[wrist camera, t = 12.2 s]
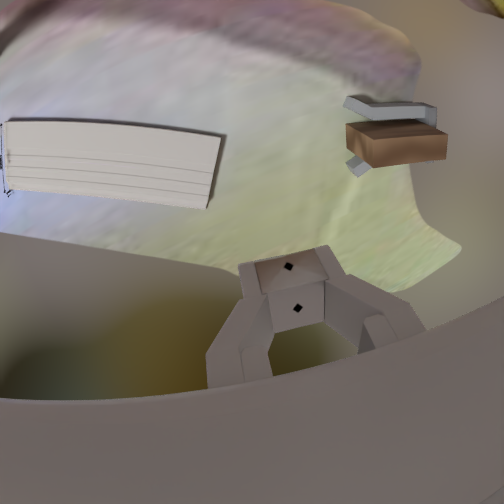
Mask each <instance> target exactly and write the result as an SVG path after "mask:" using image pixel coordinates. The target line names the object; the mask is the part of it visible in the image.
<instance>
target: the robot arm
mask: <svg viewBox="0 0 504 504" xmlns="http://www.w3.org/2000/svg"><path fill="white" fill-rule="evenodd" d="M238 270H239V275H240V281H241V286H242V292H243V297H244V299H241V300H239V301H238V303H237V304H236V306H235V308H234V309H233V311H232V313H231V314H230V316H229V317H228V319H227V321H226V322H225V324H224V325H223V327H222V329H221V330H220V332H219V334H218V335H217V337H216V338H215V340H214V342H213V343H212V345H211V347H210V348H209V350H208V351H207V353H206V364H207V379H208V389H205V390H199V391H192V392H184V393H177V394H168V395H160V396H149V397H138V398H125V399H109V400H83V401H82V400H80V401H45V400H19V399H5V398H0V504H504V296H503V297H501V298H499V299H497V300H495V301H493V302H491V303H489V304H487V305H484V306H482V307H480V308H478V309H476V310H474V311H472V312H469V313H467V314H465V315H462V316H460V317H458V318H456V319H453V320H451V321H449V322H446V323H444V324H441V325H439V326H436V327H434V328H431V329H429V330H426V328H425V327H424V325H423V324H422V322H421V321H420V319H419V318H418V316H417V314H416V313H415V311H414V310H413V308H412V307H411V305H410V304H409V303H408V302H406V301H404V300H402V299H399V298H398V297H396V296H394V295H392V294H390V293H388V292H386V291H384V290H382V289H380V288H378V287H376V286H374V285H372V284H370V283H367V282H365V281H363V280H361V279H359V278H357V277H355V276H353V275H351V274H349V275H346V274H345V272H344V270H343V269H342V267H341V265H340V264H339V262H338V260H337V259H336V257H335V255H334V254H333V252H332V250H331V249H330V247H329V246H328V245H323V246H319V247H315V248H312V249H309V250H304V251H300V252H295V253H291V254H286V255H281V256H276V257H271V258H265V259H260V260H255V261H254V262H253V261H251V262H246V263H241V264H238ZM323 321H324V322H325V323H326V324H327V325H329V326H330V327H331V328H333V329H334V330H335V331H336V332H338V333H339V334H341V335H342V336H343V337H345V338H346V339H347V340H348V341H350V342H351V343H352V344H354V345H355V346H356V347H358V353H357V355H355V356H351V357H349V358H345V359H341V360H338V361H334V362H331V363H327V364H324V365H320V366H316V367H312V368H308V369H304V370H301V371H296V372H293V373H288V374H284V375H279V376H275V377H273V375H272V371H271V367H270V363H269V359H268V354H267V352H268V350H269V347H270V344H271V342H272V340H273V337H274V333H278V332H281V331H286V330H289V329H293V328H297V327H301V326H306V325H310V324H315V323H319V322H323Z"/></svg>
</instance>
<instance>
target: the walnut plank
mask: <svg viewBox="0 0 504 504" xmlns="http://www.w3.org/2000/svg"><path fill="white" fill-rule="evenodd" d="M447 141H448V134H446V133H444V132H442V131H440V130H438V129H436V128H434V127H431V126H429V125H427V124H425V123H423V122H421V121H418V120H416V119H403V120H385V121H371V122H359V123H348V124H346V142H347V149H349V150H350V151H352V152H353V153H354V154H356V155H357V156H358V157H360V158H361V159H362V160H363V161H365V162H366V163H367V164H369V165H370V166H371V167H372V168H378V167H385V166H393V165H400V164H408V163H416V162H425V161H434V160H443V159H446V152H447Z"/></svg>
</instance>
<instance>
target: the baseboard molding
mask: <svg viewBox="0 0 504 504" xmlns="http://www.w3.org/2000/svg"><path fill="white" fill-rule="evenodd" d="M0 126H2V124H1V125H0ZM220 141H221V137H217V136H211V135H205V134H198V133H192V132H185V131H177V130H170V129H162V128H153V127H144V126H134V125H123V124H110V123H95V122H74V121H6V122H4V148H5V169H6V182H7V183H8V185H9V189H14V190H27V191H40V192H52V193H63V194H74V195H84V196H94V197H104V198H114V199H123V200H132V201H141V202H149V203H158V204H166V205H174V206H182V207H190V208H197V209H205V210H206V205H207V202H208V197H209V192H210V187H211V182H212V177H213V172H214V168H215V163H216V159H217V154H218V150H219V145H220ZM1 152H2V137H1ZM0 156H1V155H0ZM1 161H2V160H1V158H0V169H3V164H2V162H1ZM1 165H2V167H1ZM3 182H4V177H3ZM5 191H6V190H5V188H4V193H5ZM9 191H10V190H9ZM9 191H8V192H7V194H8V193H9ZM10 192H11V191H10ZM10 195H11V194H10ZM10 195H8V198H9V196H10Z"/></svg>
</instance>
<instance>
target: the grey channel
mask: <svg viewBox="0 0 504 504" xmlns="http://www.w3.org/2000/svg"><path fill="white" fill-rule="evenodd" d="M343 107H345V108H348V109H350V110H352V111H354V112H356V113H358V114H360V115H362V116H364V117H367V118H369V119H371V120H387V119H406V118H415V119H416V120H418V121H421V122H423V123H425V124H427V125H429V126H431V127H434V128H436V121H437V118H436V117H437V108H436V107H433V106H431V105H428V104H425V103H375V104H365V103H363V102H361V101H359V100H357V99H354V98H351V97H348V96H347V98H346V100H345V102H344V105H343ZM425 162H426V163H431V162H434V161H425ZM346 164H347V166H348V168H349V169H350V171H351V172H352V173H353V174H354V175H355V176H357V177H359V176H361V175H362V174H364V173H365V172H366V171H368V170H369V169H371V168H372V167H371V166H370V165H369V164H367V163H366V162H365V161H363V160H362V159H361V158H360V157H358V156H357V155H356V156H355V157H353V158H352V159H350V160H349V161H347V162H346Z"/></svg>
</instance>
